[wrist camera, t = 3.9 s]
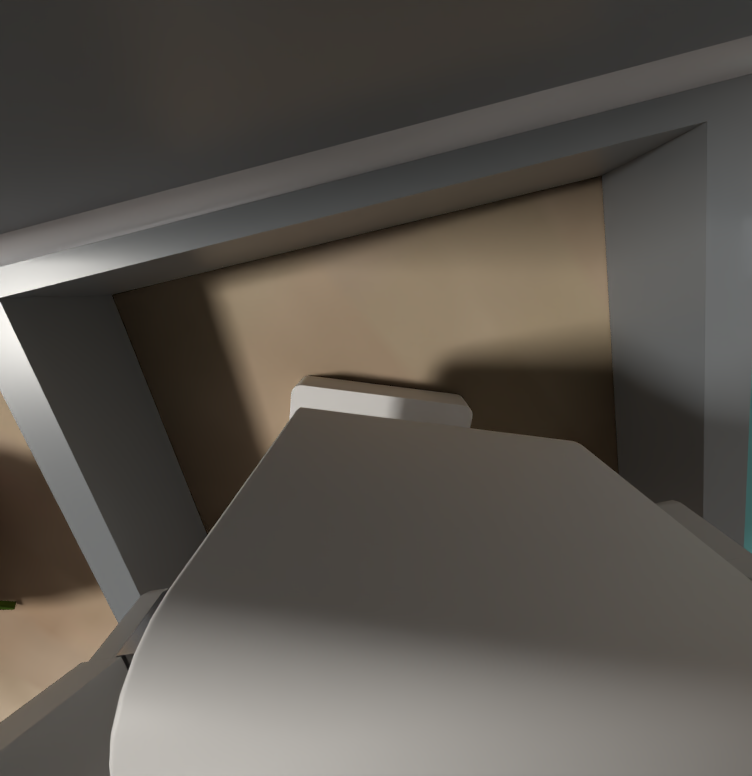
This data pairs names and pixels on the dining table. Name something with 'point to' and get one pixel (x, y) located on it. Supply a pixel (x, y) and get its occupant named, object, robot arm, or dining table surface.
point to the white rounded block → (439, 613)
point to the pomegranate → (7, 605)
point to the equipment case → (361, 207)
